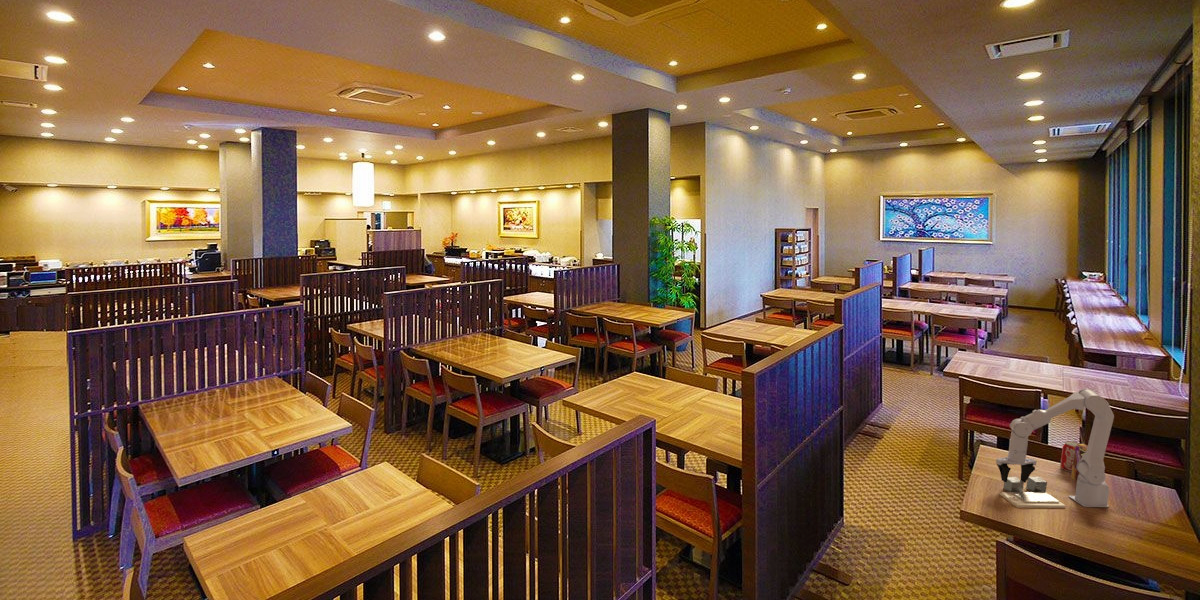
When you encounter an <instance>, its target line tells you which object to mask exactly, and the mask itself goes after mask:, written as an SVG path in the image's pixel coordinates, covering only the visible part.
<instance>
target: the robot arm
mask: <svg viewBox="0 0 1200 600" xmlns="http://www.w3.org/2000/svg"><path fill="white" fill-rule="evenodd" d="M1085 408H1086V409H1087V410H1089V411H1090V412H1091V413H1092V414H1093V415H1094V419H1093V423H1092V428H1091V432H1090V435H1089V438H1088V439H1089V440H1088V444H1087V446H1088V447H1087V451H1086V454H1085V455H1083V456H1082V459H1081V460H1080V461H1079V462H1078V463H1077V470H1078V471H1079V472H1080V473H1079V475H1078V479H1077V481H1076V487H1075V494H1074V495H1068V497H1069V499H1071V500H1072V501H1074V502H1076V503H1078V504H1079V505H1080V506H1082V507H1084V508H1109V507H1110V505H1108V504H1109V503H1108V502H1109V496H1110V488H1109V485H1108V483H1107V482H1106V473H1105V469H1106V466H1105V461H1104V460H1103V458H1104V459H1105V455H1106V449H1107V445H1108V442H1109V438H1110V435H1111V430H1112V426H1113V423H1114V419H1115V415H1114V412H1113V411H1112V408H1111V406H1110V403H1109V402H1108V401H1107V400H1106V399H1105V397H1102V396H1100V395H1099V394H1098V393H1097V392H1095V391H1094V390H1093V389H1091V388H1082V389H1080V390H1079V391H1076V392H1073V393H1071V394H1070V395H1069V396H1068V397H1066V398H1064V399H1063V400H1061V401H1059V402H1057V403H1055V404H1054V405H1052V406H1050V407H1049V408H1047V409H1034V410H1032V412H1030V413H1029V414H1027V415H1025V416H1020V418H1015V419H1013V420H1012V421H1011V423H1009V427H1010V429H1011V433H1010V438H1009V446H1008V454H1007V457H1006V456H1005V457H1000V458H999V457H996V459H995V463H996V466H997V467H998V470H999V472H1000V477H1001V481H1002V482H1003V483H1004V482H1007V479H1008V477H1009V473H1010V471H1011V470H1012V468H1011V467H1009V465H1018V466H1020V469H1021V470H1020V471H1021V472H1020V480H1021V481H1022V482H1024V483H1026V484H1027V479H1028V477H1031V476H1030V475H1032V473H1034V471H1035V470H1036V467H1035V466H1037V460H1036V459H1034V458H1028V457H1027V451H1028V443H1029V436H1031V435H1032V433H1033V431H1035V430H1037V429H1040V428H1042V427H1043V426H1046V425H1049V424H1050V423H1051V421H1052V418H1054V417H1057V416H1059V415H1063V414H1064V413H1067V412H1069V411H1071V410H1079V411H1086V409H1085Z"/></svg>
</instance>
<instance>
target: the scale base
mask: <svg viewBox="0 0 1200 600" xmlns="http://www.w3.org/2000/svg"><path fill="white" fill-rule="evenodd" d="M999 495H1000V496H1001V497H1002V498H1004V499H1005V500H1007V501H1008V502H1009V503H1010V504H1012V505H1013V506H1014V507H1016V508H1024V509H1025V508H1032V509H1033V508H1035V509H1037V508H1038V509H1040V508H1041V509H1044V508H1045V509H1065V508H1066V505H1065V504H1064V503H1062V502H1061V501H1059V503H1025V502H1023V501H1022V500H1021V499H1019V498H1018V497H1016V496H1015V495H1014V494H1012V492H1006V491H1005V492H1004V491H1001V492H999Z"/></svg>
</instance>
